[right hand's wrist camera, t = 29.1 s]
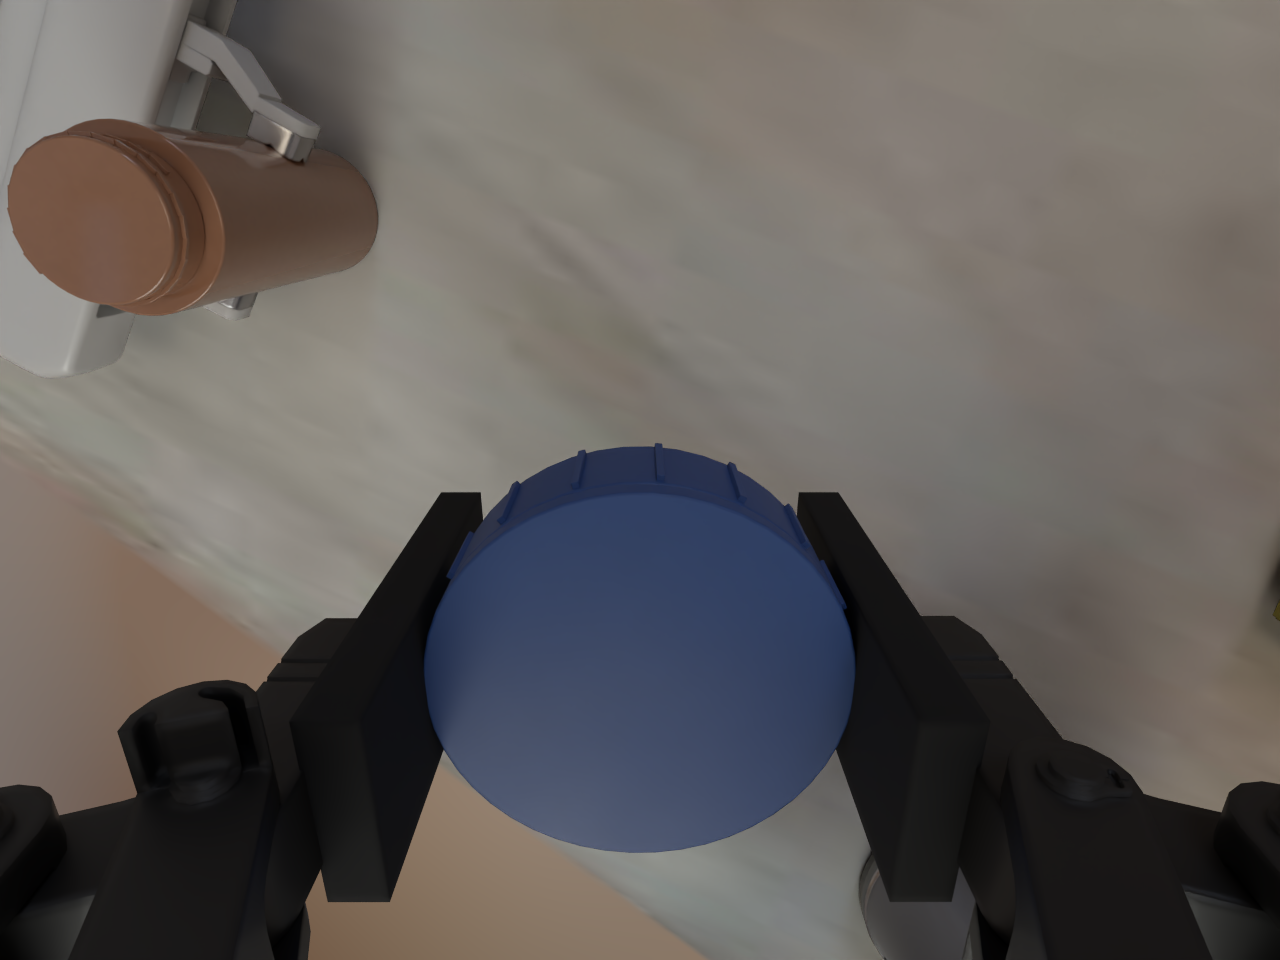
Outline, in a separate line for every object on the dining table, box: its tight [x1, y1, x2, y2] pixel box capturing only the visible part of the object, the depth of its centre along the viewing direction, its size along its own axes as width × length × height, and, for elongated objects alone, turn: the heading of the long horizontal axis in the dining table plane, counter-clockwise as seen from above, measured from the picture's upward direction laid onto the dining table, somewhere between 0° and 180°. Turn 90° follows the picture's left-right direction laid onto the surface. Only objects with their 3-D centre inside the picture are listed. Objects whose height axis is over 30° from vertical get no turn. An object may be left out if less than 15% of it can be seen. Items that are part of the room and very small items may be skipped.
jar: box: [7, 118, 378, 316], centre depth 27 cm, size 6×6×16 cm
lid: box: [424, 443, 856, 853], centre depth 11 cm, size 6×6×2 cm
